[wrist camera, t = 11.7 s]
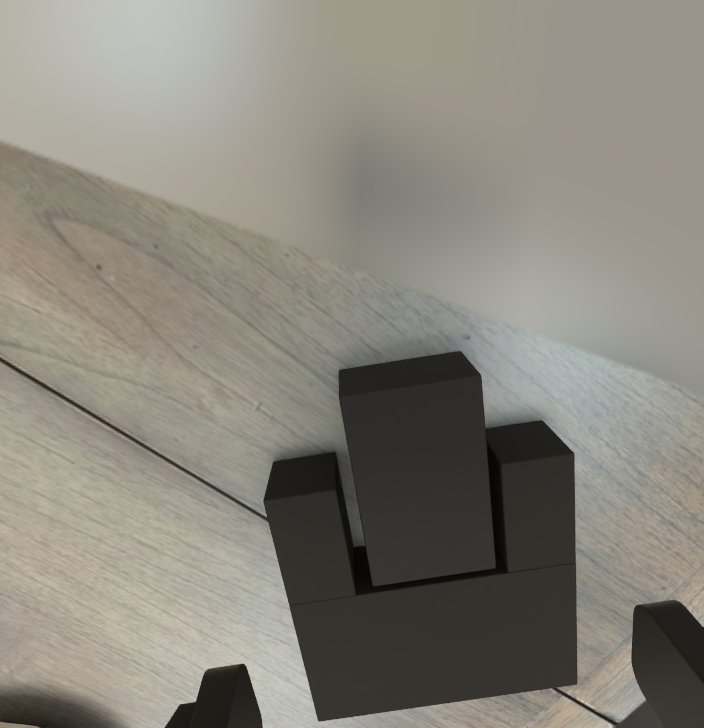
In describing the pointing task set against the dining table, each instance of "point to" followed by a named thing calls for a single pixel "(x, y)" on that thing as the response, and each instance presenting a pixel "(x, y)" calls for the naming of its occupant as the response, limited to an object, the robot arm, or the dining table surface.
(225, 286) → the dining table surface
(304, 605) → the socket pad
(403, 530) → the pad
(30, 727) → the pot lid
